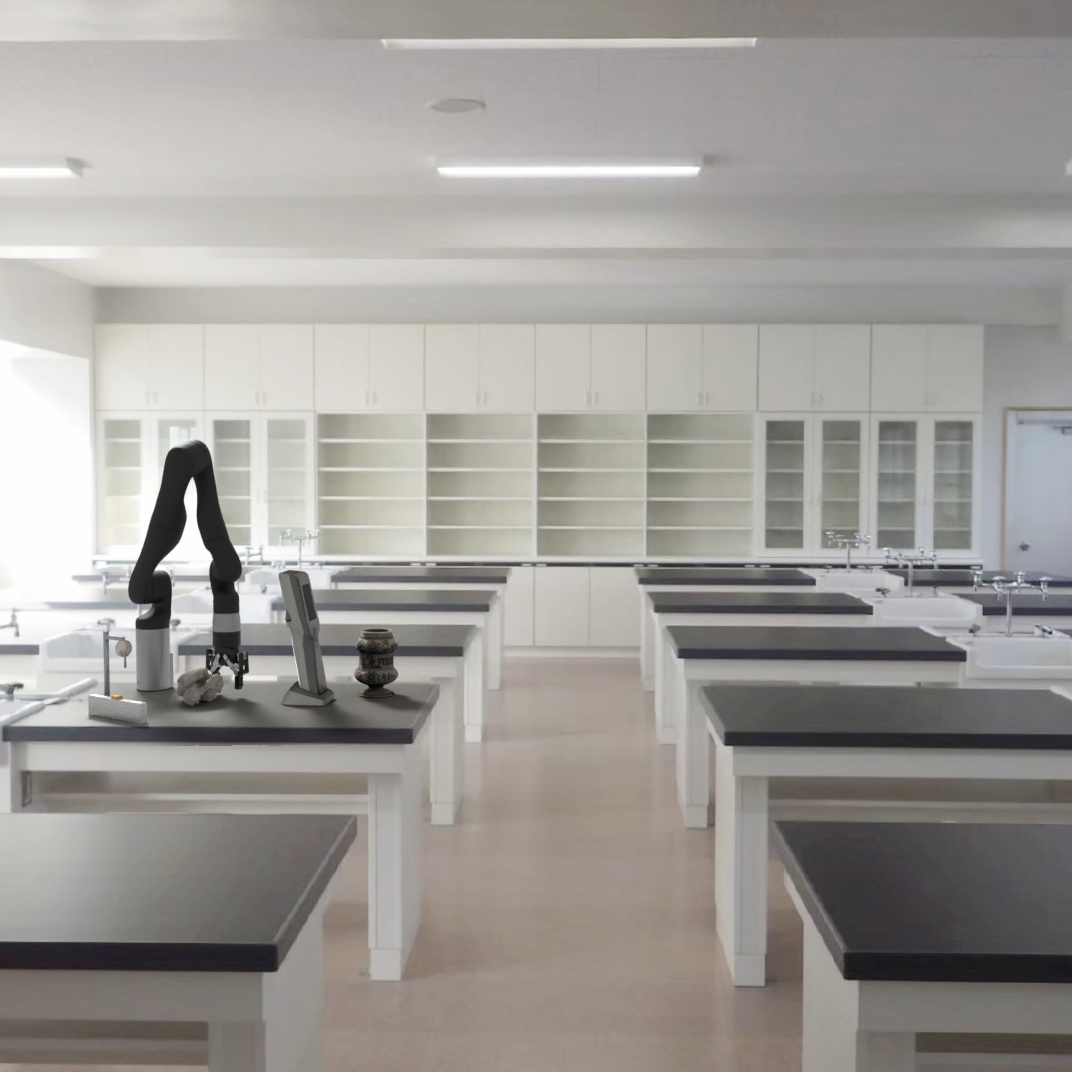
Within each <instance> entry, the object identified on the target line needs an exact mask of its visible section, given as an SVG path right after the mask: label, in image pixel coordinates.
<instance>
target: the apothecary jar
mask: <svg viewBox="0 0 1072 1072" xmlns="http://www.w3.org/2000/svg"><path fill="white" fill-rule="evenodd" d="M398 646H399V642H398V639H396V637H394V634H393V630H392V629H391V628H385V627H369V628H367V627H366V628H362V629H361V630H360V635H359V636H358V638H356V640H355V642H354V647H355V649H356V650H357V651H358V655H359V656H358V667H357V668H355V670H354V673H353V676H354V678H355V679H356V680H357V682H359V683H361V684H363V685H365V686H368V687H367V688H365V689H363V690H361V691H359V692H358V693H357V694H358V695H357V696H359V697H362V698H370V699H371V698H372V699H373V698H374V699H375V698H378V699H379V698H387V697H388V698H389V697H392V696H393V695H395V692H394V691H393V690H390V689H389V688H388V687H387V688H386V687H384V686H385V685H389V684H392V683H394V682H395V681H396V680H397V678H398V676H399V672H398V669H397V668H395V665H394V654H395V653H394V652H395V650H396V649H398Z"/></svg>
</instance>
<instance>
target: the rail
mask: <svg viewBox="0 0 1072 1072" xmlns="http://www.w3.org/2000/svg"><path fill="white" fill-rule="evenodd" d="M87 695H88V697H87V701H88V705H87V706H88V716H89V715H90V716H93V715H97V716H96V717H99V716H103V717H102V718H105V717H108V718H107V719H110V718H113V719H112V720H116V719H117V720H116V721H121V720H123V722H127V721H128V723H132V722H133V724H139V725H143V724H147V723H148V715H147V714H148V710H147V709H148V706H147V702H144V701H140V700H133V699H128V698H127V699H126V698H124V697H123V696H124V695H121V694H112V695H110V697H109V696H104V695H103V694H96V693H93V694H87Z"/></svg>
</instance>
